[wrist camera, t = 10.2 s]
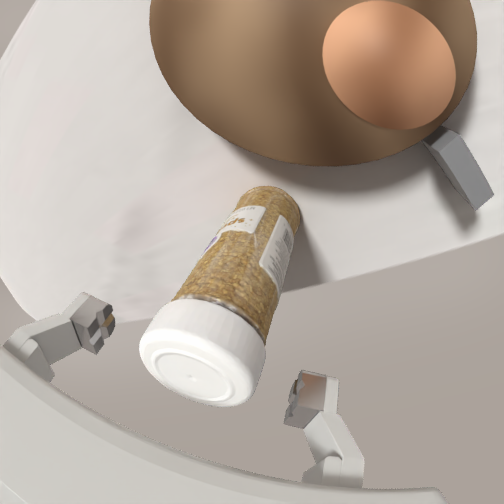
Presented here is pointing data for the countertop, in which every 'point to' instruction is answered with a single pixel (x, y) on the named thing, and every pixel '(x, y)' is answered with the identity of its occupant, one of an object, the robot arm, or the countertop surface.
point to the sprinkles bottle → (226, 305)
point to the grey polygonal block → (459, 166)
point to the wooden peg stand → (317, 72)
